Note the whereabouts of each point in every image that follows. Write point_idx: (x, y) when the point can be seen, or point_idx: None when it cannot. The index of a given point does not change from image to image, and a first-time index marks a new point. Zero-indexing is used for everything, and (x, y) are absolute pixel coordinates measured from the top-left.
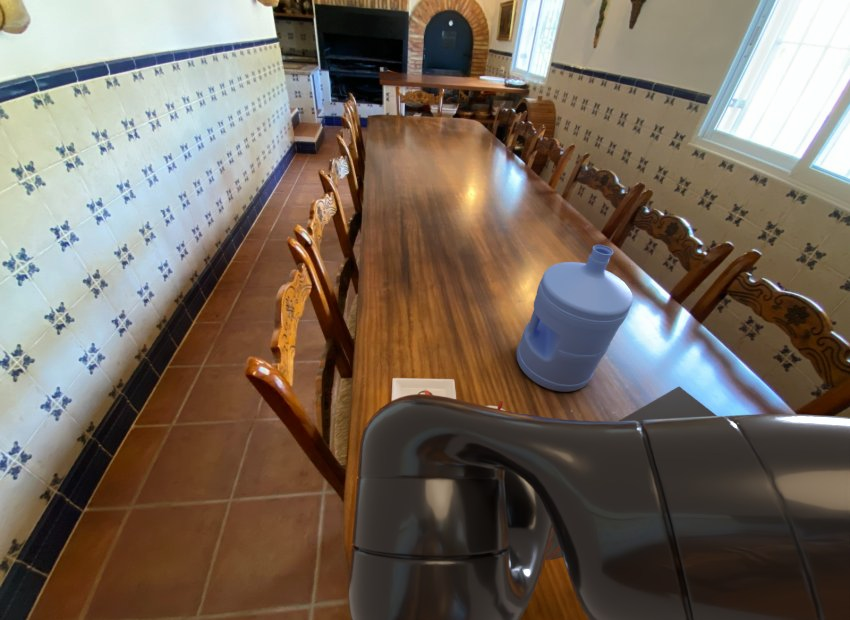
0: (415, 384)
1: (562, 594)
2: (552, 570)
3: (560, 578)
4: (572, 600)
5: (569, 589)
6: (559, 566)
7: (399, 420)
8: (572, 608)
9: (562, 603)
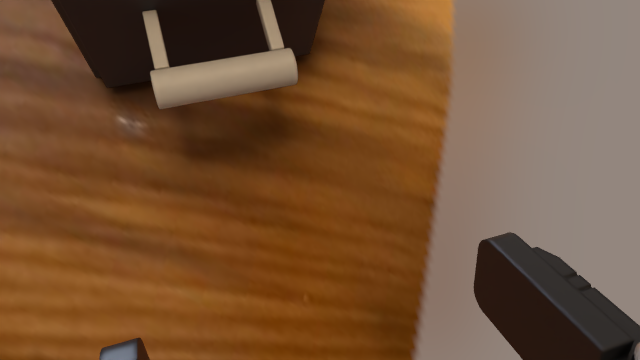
0: None
1: (384, 348)
2: (335, 349)
3: (354, 336)
4: (398, 329)
5: (378, 325)
6: (331, 326)
7: None
8: (411, 337)
9: (399, 357)
